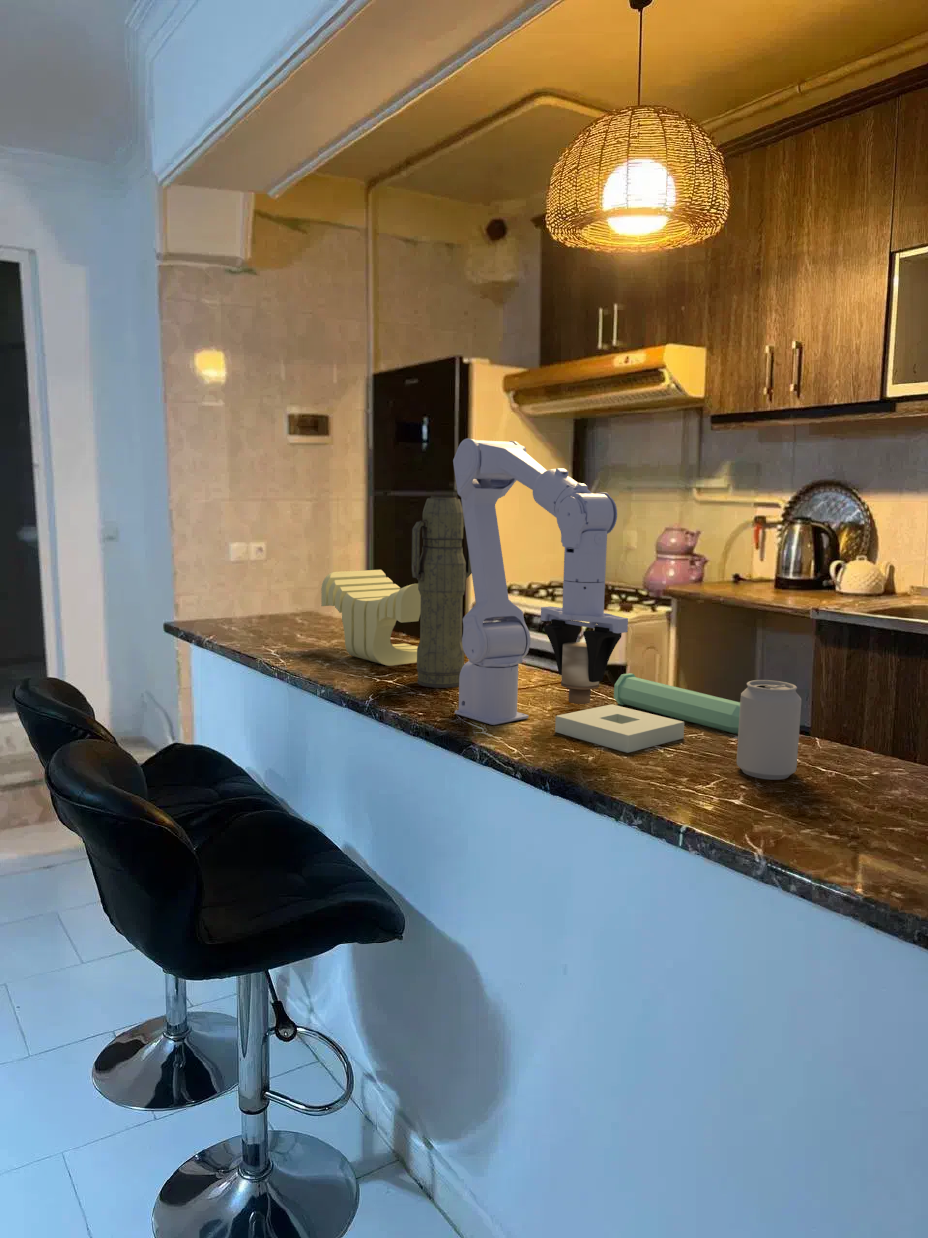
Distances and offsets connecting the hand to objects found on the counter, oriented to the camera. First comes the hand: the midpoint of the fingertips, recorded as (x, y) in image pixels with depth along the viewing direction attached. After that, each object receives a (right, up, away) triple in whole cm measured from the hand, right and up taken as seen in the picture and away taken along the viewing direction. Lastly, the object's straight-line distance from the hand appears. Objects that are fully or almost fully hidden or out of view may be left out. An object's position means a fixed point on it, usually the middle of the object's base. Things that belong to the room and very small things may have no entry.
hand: (580, 677), depth 127 cm
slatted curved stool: (-32, -1, +69) cm, 76 cm away
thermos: (-21, -4, +45) cm, 50 cm away
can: (+23, -12, -8) cm, 28 cm away
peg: (0, -3, 0) cm, 3 cm away
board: (+7, -9, +10) cm, 15 cm away
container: (+19, -8, +21) cm, 30 cm away
